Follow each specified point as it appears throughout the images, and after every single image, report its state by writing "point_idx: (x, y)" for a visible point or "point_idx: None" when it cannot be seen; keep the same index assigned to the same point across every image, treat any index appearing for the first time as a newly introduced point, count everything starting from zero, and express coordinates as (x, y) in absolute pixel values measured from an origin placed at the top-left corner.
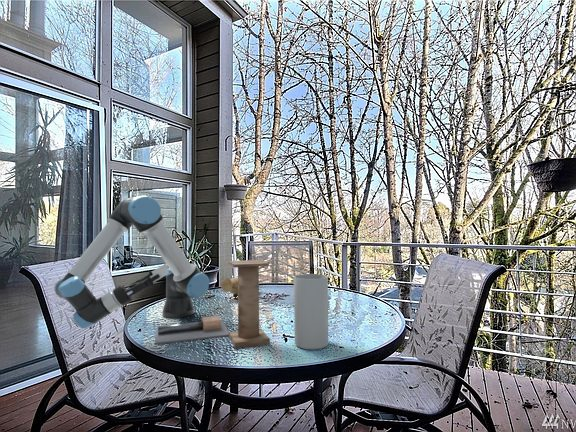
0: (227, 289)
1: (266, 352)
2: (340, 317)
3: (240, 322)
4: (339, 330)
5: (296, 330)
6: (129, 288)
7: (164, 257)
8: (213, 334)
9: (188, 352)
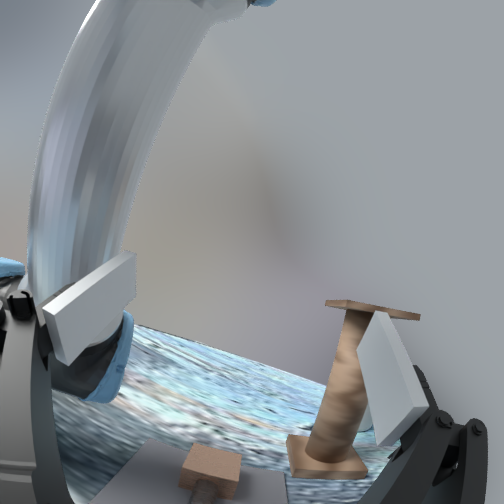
0: None
1: (380, 454)
2: (248, 379)
3: (351, 436)
4: (301, 398)
5: (367, 412)
6: None
7: (83, 198)
8: (272, 492)
9: None
